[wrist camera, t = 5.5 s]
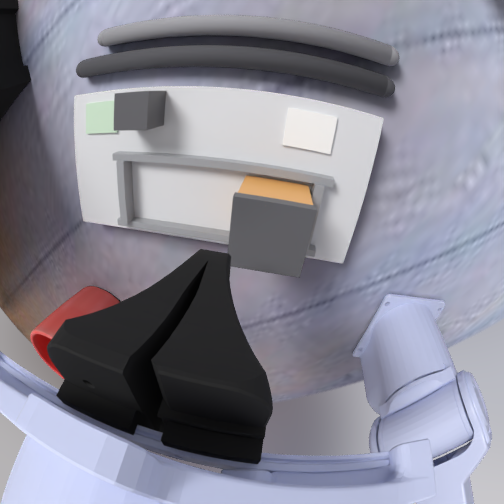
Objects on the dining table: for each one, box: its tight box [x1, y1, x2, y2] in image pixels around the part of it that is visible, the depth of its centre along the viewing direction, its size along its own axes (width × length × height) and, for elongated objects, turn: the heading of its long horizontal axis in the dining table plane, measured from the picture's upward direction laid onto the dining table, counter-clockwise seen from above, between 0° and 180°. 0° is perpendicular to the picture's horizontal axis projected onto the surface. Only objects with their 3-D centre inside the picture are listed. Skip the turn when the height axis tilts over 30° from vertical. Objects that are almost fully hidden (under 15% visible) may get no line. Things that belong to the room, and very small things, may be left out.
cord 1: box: [98, 15, 399, 66], centre depth 13 cm, size 2×22×2 cm, turn 83°
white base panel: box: [74, 86, 384, 264], centre depth 17 cm, size 11×22×4 cm, turn 83°
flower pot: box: [31, 286, 120, 379], centre depth 25 cm, size 11×11×10 cm
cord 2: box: [76, 45, 395, 97], centre depth 14 cm, size 2×24×2 cm, turn 83°
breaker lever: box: [228, 175, 317, 278], centre depth 16 cm, size 4×4×4 cm
